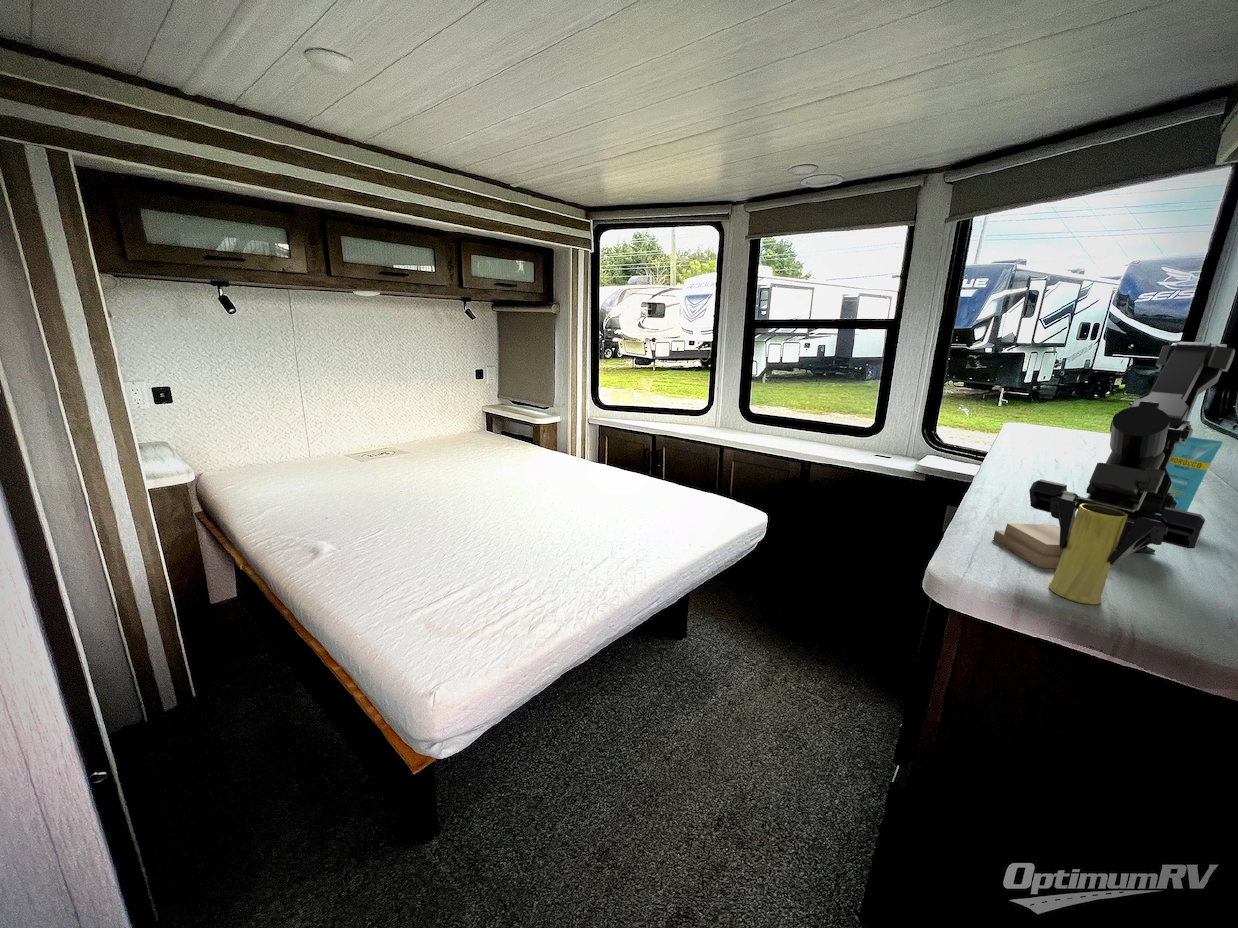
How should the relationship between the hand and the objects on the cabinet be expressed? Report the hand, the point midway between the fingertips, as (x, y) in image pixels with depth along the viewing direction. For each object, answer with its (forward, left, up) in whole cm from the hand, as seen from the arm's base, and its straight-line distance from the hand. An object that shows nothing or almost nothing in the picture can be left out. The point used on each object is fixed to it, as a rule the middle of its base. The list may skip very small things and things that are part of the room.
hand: (1085, 555), depth 72 cm
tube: (-49, -33, -7) cm, 60 cm away
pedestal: (-8, -15, -7) cm, 18 cm away
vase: (-1, -1, -7) cm, 7 cm away
